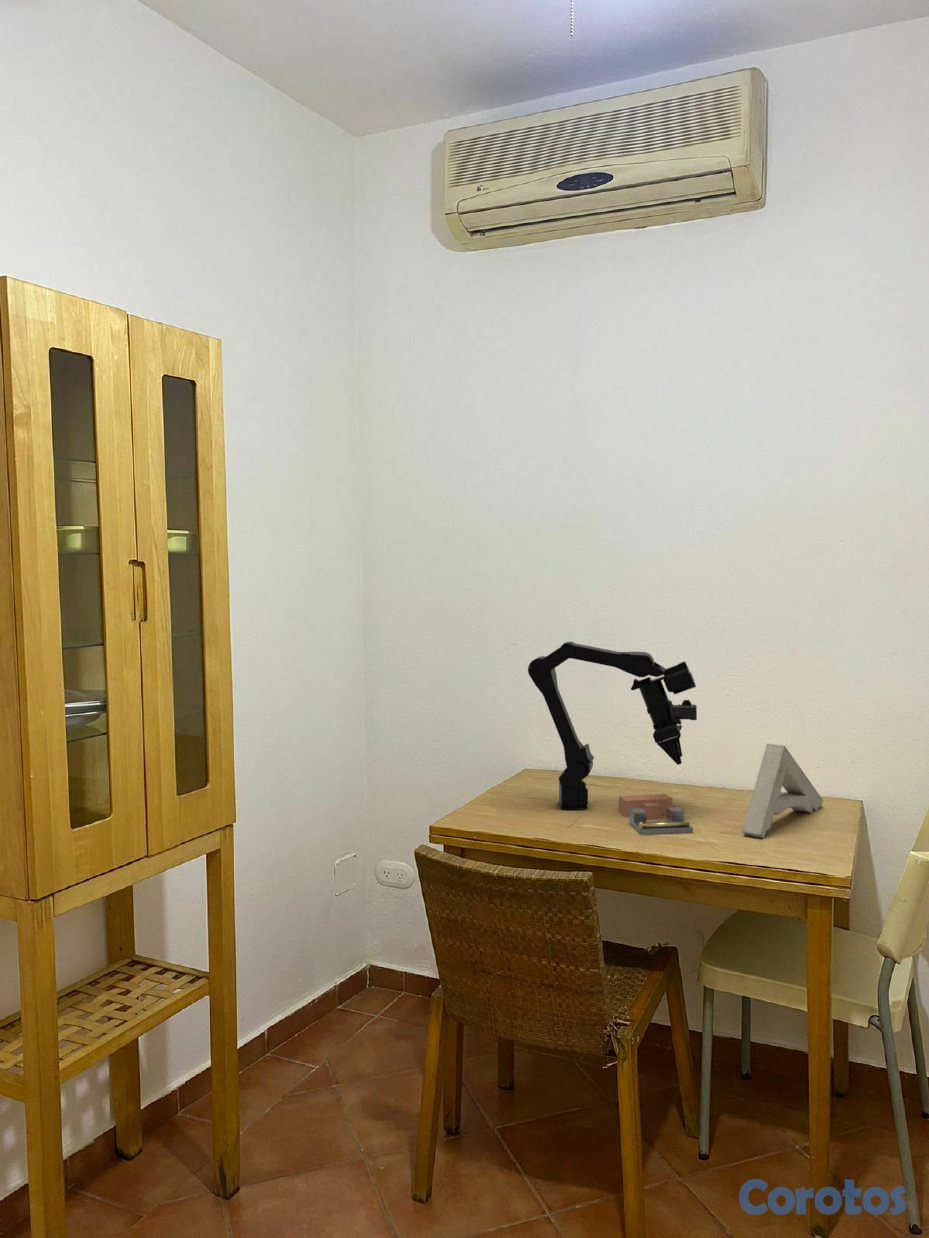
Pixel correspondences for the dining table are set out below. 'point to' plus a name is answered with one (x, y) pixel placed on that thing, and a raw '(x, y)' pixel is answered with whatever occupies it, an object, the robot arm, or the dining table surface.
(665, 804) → the pink tabbed slab
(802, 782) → the grey letter a
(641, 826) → the hinge pin
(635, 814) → the fixed leaf
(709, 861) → the dining table surface
